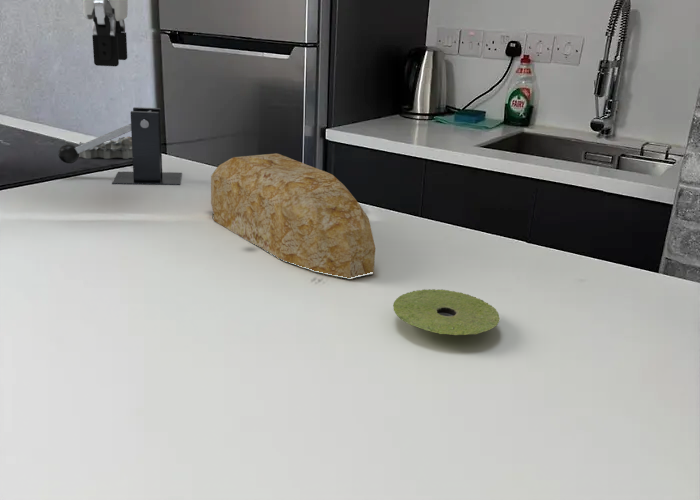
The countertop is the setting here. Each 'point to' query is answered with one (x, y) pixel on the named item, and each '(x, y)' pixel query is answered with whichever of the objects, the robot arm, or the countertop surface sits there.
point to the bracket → (147, 151)
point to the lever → (89, 144)
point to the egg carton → (110, 149)
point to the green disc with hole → (446, 312)
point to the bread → (294, 213)
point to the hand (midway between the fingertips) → (111, 62)
